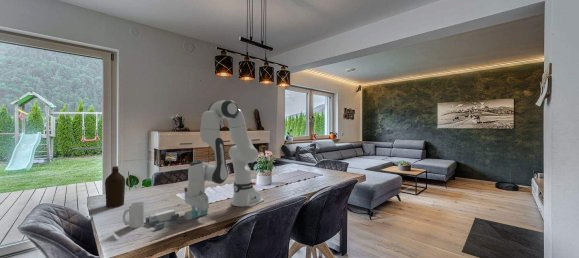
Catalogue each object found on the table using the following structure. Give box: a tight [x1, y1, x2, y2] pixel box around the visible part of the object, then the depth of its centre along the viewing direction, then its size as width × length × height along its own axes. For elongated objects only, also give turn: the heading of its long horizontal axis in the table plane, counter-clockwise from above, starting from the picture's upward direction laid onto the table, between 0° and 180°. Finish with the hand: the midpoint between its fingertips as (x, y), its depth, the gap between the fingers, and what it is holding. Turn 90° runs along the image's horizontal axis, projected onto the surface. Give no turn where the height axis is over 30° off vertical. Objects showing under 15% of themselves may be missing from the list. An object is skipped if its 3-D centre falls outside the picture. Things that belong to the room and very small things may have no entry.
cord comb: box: [145, 213, 186, 231], centre depth 129 cm, size 14×14×4 cm
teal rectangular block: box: [184, 208, 209, 221], centre depth 138 cm, size 12×3×4 cm, turn 140°
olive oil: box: [104, 165, 126, 209], centre depth 156 cm, size 11×11×25 cm
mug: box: [122, 201, 145, 229], centre depth 123 cm, size 10×7×12 cm, turn 150°
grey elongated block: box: [148, 209, 176, 223], centre depth 131 cm, size 12×3×4 cm, turn 139°
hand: (196, 214), depth 138 cm, fingers closed on teal rectangular block, 3 cm apart
